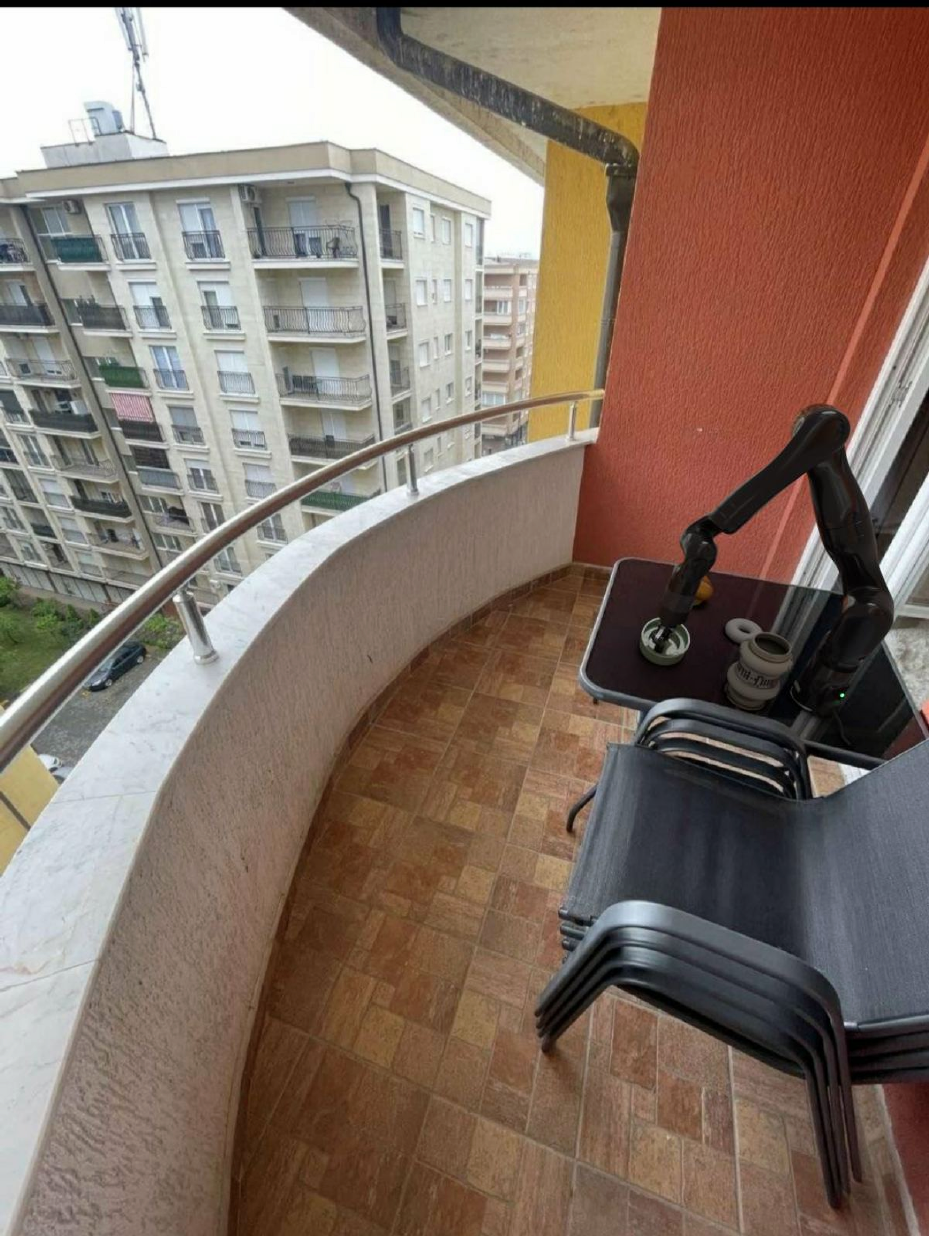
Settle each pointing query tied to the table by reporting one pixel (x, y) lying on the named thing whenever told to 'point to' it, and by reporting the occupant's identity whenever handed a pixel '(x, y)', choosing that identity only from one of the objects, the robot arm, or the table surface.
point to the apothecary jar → (758, 670)
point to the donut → (741, 624)
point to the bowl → (673, 647)
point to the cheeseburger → (703, 591)
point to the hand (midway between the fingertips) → (657, 652)
